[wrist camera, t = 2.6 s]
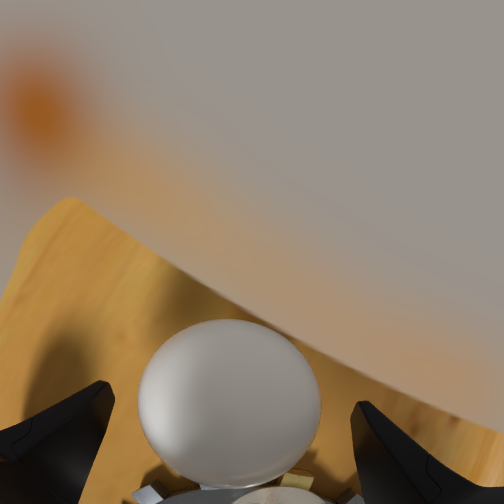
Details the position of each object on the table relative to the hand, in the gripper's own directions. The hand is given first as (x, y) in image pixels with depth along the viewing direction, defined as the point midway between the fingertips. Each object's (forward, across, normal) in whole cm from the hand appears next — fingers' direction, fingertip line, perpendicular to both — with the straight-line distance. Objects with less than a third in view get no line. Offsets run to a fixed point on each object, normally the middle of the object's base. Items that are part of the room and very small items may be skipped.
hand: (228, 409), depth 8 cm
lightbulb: (+6, 0, +6) cm, 8 cm away
